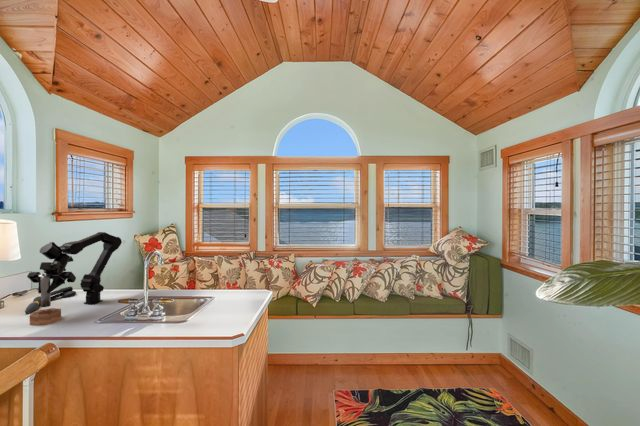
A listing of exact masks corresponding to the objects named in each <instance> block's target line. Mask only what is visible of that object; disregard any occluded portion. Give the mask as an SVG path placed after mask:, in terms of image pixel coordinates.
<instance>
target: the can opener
mask: <svg viewBox="0 0 640 426" xmlns="http://www.w3.org/2000/svg"><path fill="white" fill-rule="evenodd" d="M76 294H77V292H76V291H75V290H73V286H67V287H66V286H65V287H63V288H62V287H61V288H59V289H57V290H56V289H55V290H53V291H52V292H50V296H51V301H53V300H55V299H58V298H61V297H62V298H70V297H71V298H72V297H73V296H75V295H76Z"/></svg>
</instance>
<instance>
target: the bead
mask: <svg viewBox="0 0 640 426" xmlns="http://www.w3.org/2000/svg"><path fill="white" fill-rule="evenodd" d="M29 314H30V315H29V325H30V326H42V325H43V326H44V325H49V324H53V323H56V322H58V321H61V319H62V308H58V307H57V308H55V307H51V308H46V309H45V308H44V309H40V310H35V311H32V312H30V313H29Z"/></svg>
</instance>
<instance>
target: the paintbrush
mask: <svg viewBox="0 0 640 426" xmlns="http://www.w3.org/2000/svg"><path fill="white" fill-rule="evenodd" d="M39 307H41V295H40V296H36V297H35V298H33V301H32V302H31V303H30V304H28V305H27V307H26V308H25V311H24V313H25V314H31V313H33V312H35V311H36V310H37V309H38V308H39Z"/></svg>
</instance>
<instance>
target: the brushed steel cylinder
mask: <svg viewBox="0 0 640 426" xmlns="http://www.w3.org/2000/svg"><path fill="white" fill-rule="evenodd" d="M40 283H41V293H40V296H41V306H40V307H41V308H48V307H51V302H52V300H51V296H50V293H51V292H50V293H47V291H48V289H49V287H50V285H51V279H50V276H41V277H40Z"/></svg>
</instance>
